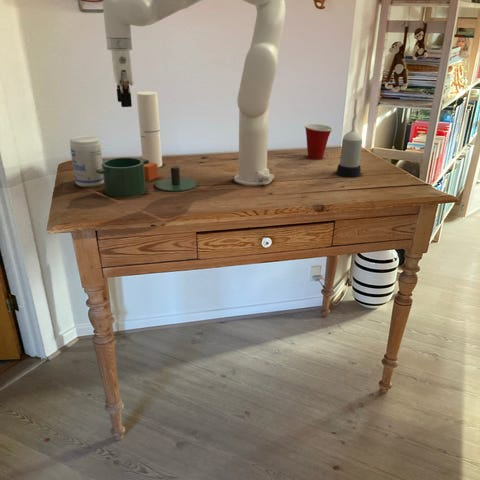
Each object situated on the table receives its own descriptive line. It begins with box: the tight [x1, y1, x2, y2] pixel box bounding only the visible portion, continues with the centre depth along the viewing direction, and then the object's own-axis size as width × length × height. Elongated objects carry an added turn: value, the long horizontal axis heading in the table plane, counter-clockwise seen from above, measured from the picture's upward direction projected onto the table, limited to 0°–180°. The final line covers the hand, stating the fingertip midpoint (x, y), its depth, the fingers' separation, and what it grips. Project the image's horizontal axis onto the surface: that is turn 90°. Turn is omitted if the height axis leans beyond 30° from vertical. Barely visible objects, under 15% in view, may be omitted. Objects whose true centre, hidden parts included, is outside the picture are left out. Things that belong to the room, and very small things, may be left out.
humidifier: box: [336, 98, 363, 178], centre depth 180 cm, size 8×8×25 cm
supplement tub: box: [69, 135, 104, 188], centre depth 171 cm, size 10×10×15 cm
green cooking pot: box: [96, 156, 149, 199], centre depth 165 cm, size 13×18×10 cm
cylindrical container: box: [136, 91, 163, 168], centre depth 189 cm, size 7×7×25 cm
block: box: [144, 163, 159, 181], centre depth 179 cm, size 5×5×5 cm
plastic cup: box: [304, 123, 334, 160], centre depth 203 cm, size 11×11×12 cm
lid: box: [154, 165, 198, 193], centre depth 171 cm, size 14×14×7 cm
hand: (124, 104), depth 168 cm, fingers open, 9 cm apart
